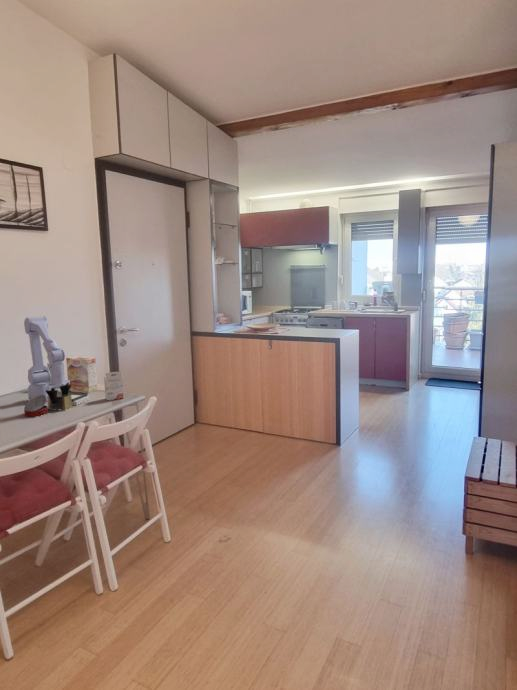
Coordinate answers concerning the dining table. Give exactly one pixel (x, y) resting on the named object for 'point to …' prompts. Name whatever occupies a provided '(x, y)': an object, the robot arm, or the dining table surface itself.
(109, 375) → the ink cartridge box
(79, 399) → the stand
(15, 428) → the dining table surface
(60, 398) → the housing
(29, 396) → the robot arm
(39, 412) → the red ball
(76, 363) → the coffeecake box
